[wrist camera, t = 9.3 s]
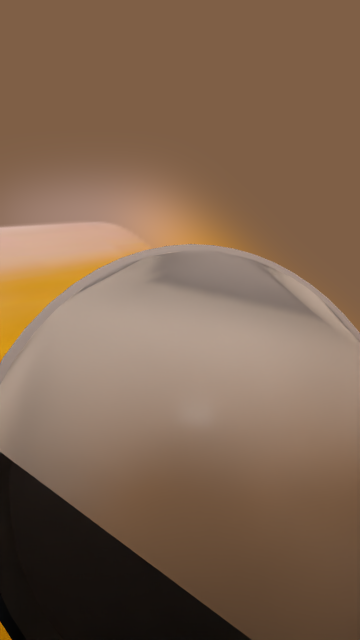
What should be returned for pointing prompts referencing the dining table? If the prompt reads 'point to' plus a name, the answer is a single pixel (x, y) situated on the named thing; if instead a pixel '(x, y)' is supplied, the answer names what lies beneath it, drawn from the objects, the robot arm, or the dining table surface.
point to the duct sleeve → (182, 456)
